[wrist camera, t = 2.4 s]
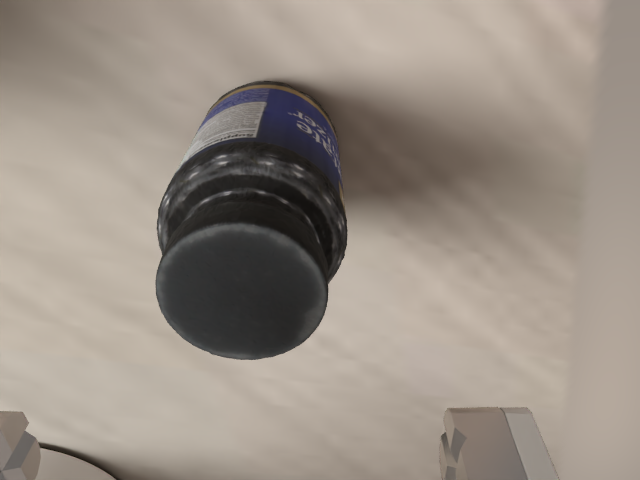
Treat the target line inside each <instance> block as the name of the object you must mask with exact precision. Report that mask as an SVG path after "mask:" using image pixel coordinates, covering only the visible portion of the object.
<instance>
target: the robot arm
mask: <svg viewBox="0 0 640 480" xmlns="http://www.w3.org/2000/svg"><path fill="white" fill-rule="evenodd" d="M28 424H29V422H28V420H27V419H26V417H25V415H24V413H23V412H14V411H0V480H116V479H115V478H113V477H112V476H110V475H109V474H107V473H106V472H104V471H103V470H101V469H99V468H97V467H95V466H94V465H92V464H89V463H87V462H85V461H83V460H80V459H78V458H75V457H72V456H70V455H66V454H63V453H60V452H56V451H52V450H47V449H43V448H40V446H39V443H38V441H37V439H36V438H35V437H34V436H32V435H31V434H29V433H28V432H26V431H25V429H26V427H27V426H28ZM444 425H445V430H446V432H445V433H444V434H443V435H442V436H441V439H440V447H439V453H440V469H441V476H442V480H559V477H558V475H557V473H556V470H555V468H554V465H553V463H552V461H551V458H550V456H549V453H548V451H547V449H546V446H545V444H544V441H543V439H542V436H541V434H540V432H539V429H538V427H537V424H536V422H535V420H534V417H533V415H532V412H531V411H530V410H529V409H528V408H525V407H521V408H498V407H477V408H447V410H446V411H445V415H444Z"/></svg>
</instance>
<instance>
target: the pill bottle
mask: <svg viewBox="0 0 640 480" xmlns="http://www.w3.org/2000/svg"><path fill="white" fill-rule="evenodd" d="M346 224H347V219H346V215H345V205H344V195H343V185H342V176H341V167H340V158H339V149H338V141H337V136H336V132H335V129H334V126H333V124H332V122H331V121H330V118H329V116H328V114H327V113H326V112H325V111H324V110H323V108H322V107H321V105H320V104H319V103H317V102H316V101H315V100H314V99H313V98H312V97H310V96H308V95H306V94H304V93H303V92H298V91H296V90H294V89H293V88H292V87H290V86H289V85H286V84H283V83H278V82H269V81H264V82H253V83H249V84H246V85H243V86H241V87H238V88H235V89H233V90H231V91H230V92H228V93H226V94H225V95H223V96H222V97H221V98H220V99H219V100H218V101H217V102H216V103H215V104H214V105H213V106H212V107H211V108H210V110H209V111H208V113H207V115H206V117H205V119H204V121H203V123H202V124H201V126H200V128H199V130H198V132H197V134H196V136H195V137H194V139H193V141H192V143H191V145H190V147H189V148H188V150H187V152H186V154H185V156H184V158H183V160H182V162H181V164H180V165H179V167H178V169H177V171H176V173H175V175H174V176H173V178H172V180H171V182H170V184H169V185H168V188H167V190H166V192H165V194H164V196H163V198H162V201H161V204H160V207H159V209H158V220H157V231H158V233H157V234H158V240H159V246H160V249H161V251H162V255H163V256H162V258H161V261H160V264H159V267H158V270H157V275H156V296H157V300H158V302H159V306H160V309H161V312H162V314H163V315H164V317H165V318H166V320H167V322H168V323H169V325H170V326H171V327H172V328H173V329H174V330H175V331H176V332H177V333H178V334H179V335H180V336H181V337H182V338H183V339H185V340H186V341H188V342H189V343H191V344H192V345H194V346H196V347H198V348H200V349H202V350H204V351H207V352H209V353H211V354H214V355H217V356H221V357H226V358H233V359H241V360H245V359H247V360H256V359H262V358H268V357H274V356H276V355H279V354H283V353H285V352H287V351H289V350H291V349H293V348H295V347H296V346H299V345H300V344H302V343H303V342H304V341H305V340H306V339H307V338H309V337H310V335H311V334H312V333H313V332H314V331H315V330H316V328H317V327H318V326H319V324H320V322H321V320H322V318H323V316H324V313H325V310H326V307H327V301H328V284H329V282H330V281H331V280H332V278H333V277H334V275H335V274H336V272H337V270H338V269H339V267H340V265H341V261H342V260H343V258H344V256H345V249H346V246H347V225H346Z"/></svg>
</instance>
